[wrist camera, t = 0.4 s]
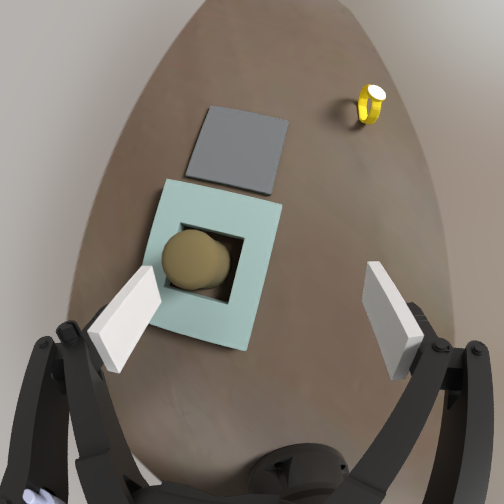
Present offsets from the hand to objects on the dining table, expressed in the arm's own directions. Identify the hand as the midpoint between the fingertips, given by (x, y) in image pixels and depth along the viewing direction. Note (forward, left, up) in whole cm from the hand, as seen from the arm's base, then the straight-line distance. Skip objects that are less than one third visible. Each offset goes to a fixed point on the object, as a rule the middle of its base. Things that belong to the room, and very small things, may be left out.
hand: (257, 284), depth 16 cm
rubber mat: (+16, +6, -16) cm, 24 cm away
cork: (0, +6, -17) cm, 18 cm away
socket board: (0, +6, -17) cm, 17 cm away
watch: (+27, -10, -17) cm, 34 cm away
